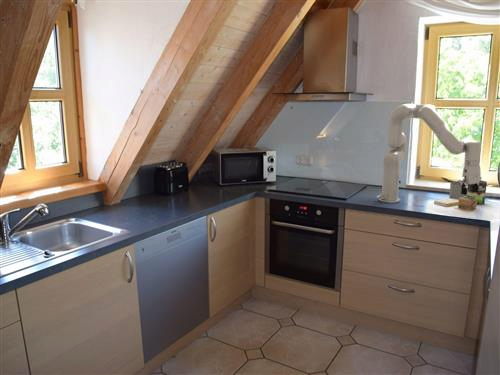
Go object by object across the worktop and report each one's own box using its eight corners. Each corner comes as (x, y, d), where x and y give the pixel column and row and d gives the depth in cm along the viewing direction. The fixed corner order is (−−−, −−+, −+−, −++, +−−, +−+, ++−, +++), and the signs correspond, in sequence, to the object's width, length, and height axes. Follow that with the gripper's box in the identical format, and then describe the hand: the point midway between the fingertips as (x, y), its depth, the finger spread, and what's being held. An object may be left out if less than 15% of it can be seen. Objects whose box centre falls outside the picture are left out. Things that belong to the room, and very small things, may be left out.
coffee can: (487, 206, 251) (489, 183, 248) (468, 206, 253) (470, 182, 250) (481, 202, 261) (483, 179, 258) (462, 202, 263) (465, 179, 260)
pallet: (467, 213, 237) (467, 211, 237) (453, 210, 245) (453, 208, 244) (480, 211, 242) (480, 209, 242) (465, 207, 250) (466, 205, 249)
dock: (446, 208, 247) (447, 203, 247) (433, 205, 255) (434, 200, 254) (461, 206, 253) (462, 201, 252) (448, 202, 261) (449, 198, 260)
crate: (469, 210, 239) (470, 200, 237) (457, 207, 245) (458, 197, 243) (476, 209, 241) (477, 198, 240) (464, 206, 247) (465, 196, 246)
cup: (462, 198, 272) (464, 182, 270) (464, 201, 265) (466, 185, 263) (448, 197, 275) (449, 182, 273) (449, 200, 268) (451, 184, 265)
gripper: (467, 165, 230) (465, 196, 234) (488, 162, 238) (485, 192, 241) (455, 163, 237) (453, 194, 240) (475, 161, 245) (473, 190, 248)
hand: (469, 193), depth 241 cm, fingers open, 9 cm apart
